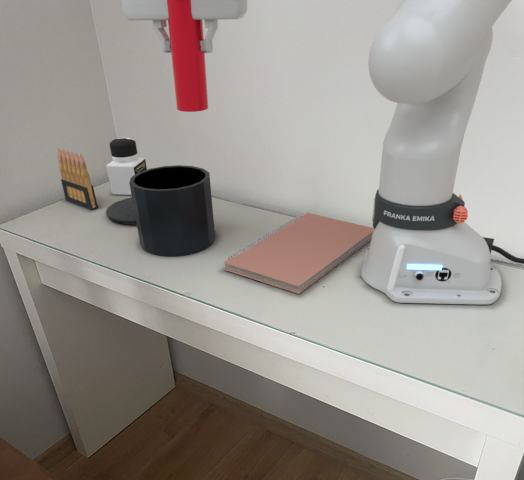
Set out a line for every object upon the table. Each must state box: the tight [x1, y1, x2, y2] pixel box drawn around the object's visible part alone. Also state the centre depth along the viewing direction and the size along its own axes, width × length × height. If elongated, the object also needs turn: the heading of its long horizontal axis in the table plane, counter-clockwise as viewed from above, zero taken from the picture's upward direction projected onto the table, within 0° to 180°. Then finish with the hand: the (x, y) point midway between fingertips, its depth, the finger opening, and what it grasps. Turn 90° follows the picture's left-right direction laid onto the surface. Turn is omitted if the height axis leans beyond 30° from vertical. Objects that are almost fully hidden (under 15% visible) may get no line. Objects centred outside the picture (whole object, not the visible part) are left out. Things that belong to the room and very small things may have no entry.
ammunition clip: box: [56, 147, 99, 211], centre depth 120 cm, size 11×2×12 cm, turn 49°
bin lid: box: [105, 196, 137, 225], centre depth 116 cm, size 16×16×5 cm
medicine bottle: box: [105, 137, 148, 196], centre depth 127 cm, size 7×7×12 cm
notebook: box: [223, 212, 374, 295], centre depth 98 cm, size 27×17×2 cm, turn 143°
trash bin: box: [129, 164, 216, 257], centre depth 101 cm, size 15×15×12 cm
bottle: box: [167, 0, 209, 113], centre depth 86 cm, size 5×6×20 cm
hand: (188, 52), depth 87 cm, fingers closed on bottle, 5 cm apart
